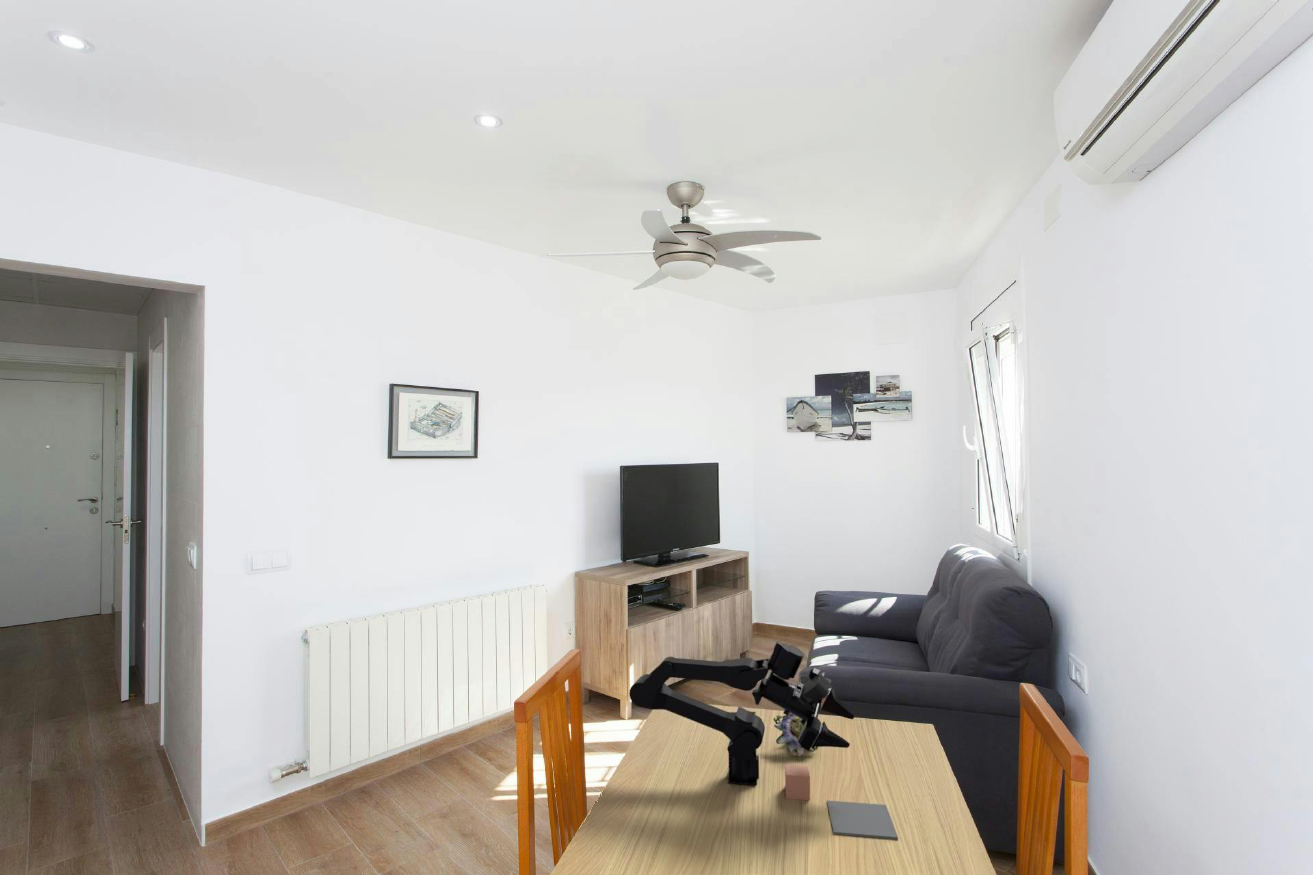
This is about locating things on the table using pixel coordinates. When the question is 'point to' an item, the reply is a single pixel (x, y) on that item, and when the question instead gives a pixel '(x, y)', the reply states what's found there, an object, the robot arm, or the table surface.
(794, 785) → the cube
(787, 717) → the passion flower
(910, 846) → the table surface
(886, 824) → the mat
